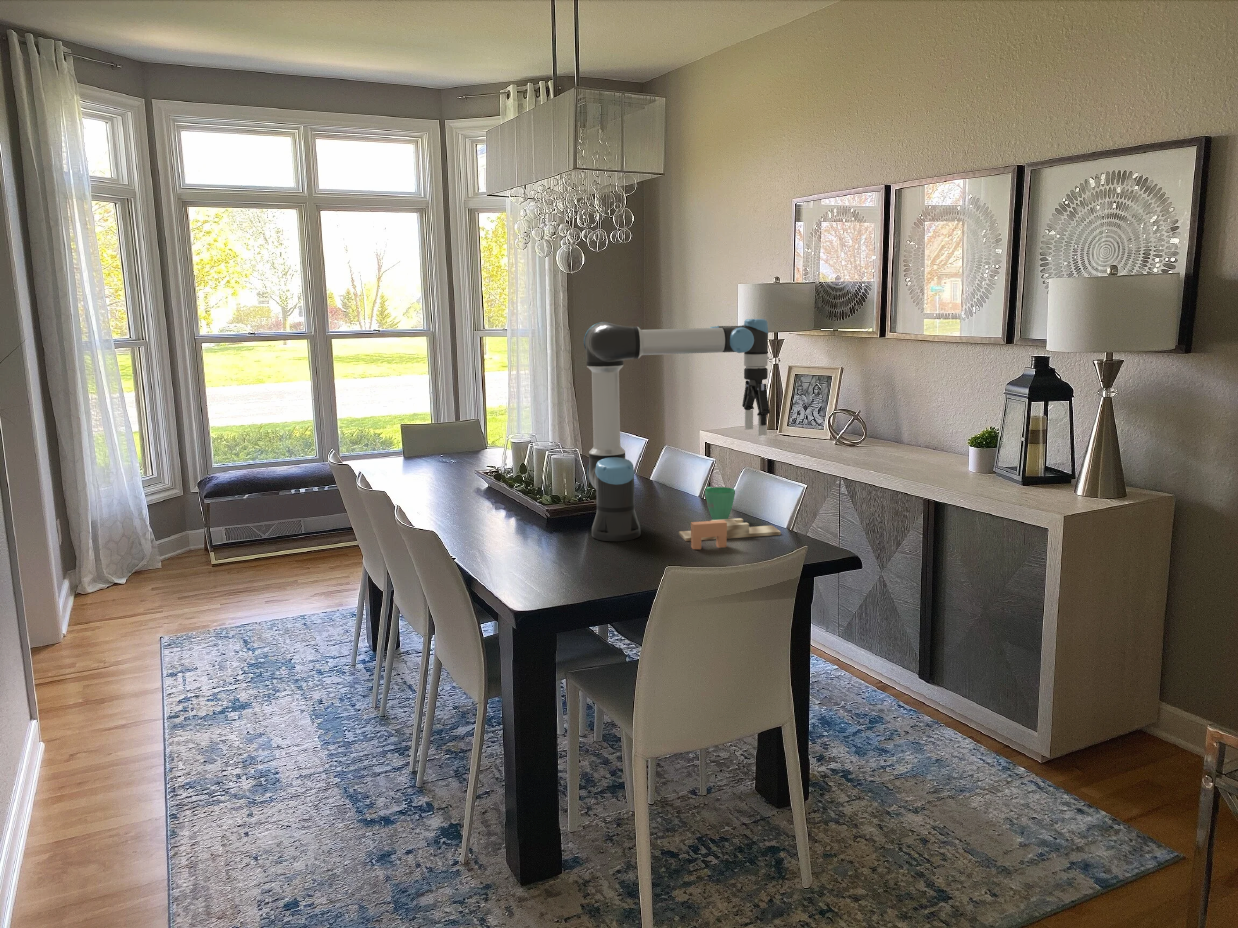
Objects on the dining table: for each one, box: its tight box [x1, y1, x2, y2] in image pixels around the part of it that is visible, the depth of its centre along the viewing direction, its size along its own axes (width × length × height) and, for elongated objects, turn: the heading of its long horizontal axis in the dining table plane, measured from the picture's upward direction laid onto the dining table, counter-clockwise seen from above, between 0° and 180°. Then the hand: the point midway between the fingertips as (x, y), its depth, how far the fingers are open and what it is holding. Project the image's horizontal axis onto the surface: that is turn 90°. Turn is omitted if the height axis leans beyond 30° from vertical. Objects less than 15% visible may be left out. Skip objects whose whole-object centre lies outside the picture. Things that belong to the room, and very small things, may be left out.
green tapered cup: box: [704, 486, 736, 520], centre depth 303 cm, size 15×10×10 cm
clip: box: [690, 520, 728, 550], centre depth 270 cm, size 10×3×8 cm, turn 100°
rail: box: [678, 517, 782, 542], centre depth 283 cm, size 30×8×4 cm, turn 100°
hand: (755, 432), depth 302 cm, fingers open, 13 cm apart
